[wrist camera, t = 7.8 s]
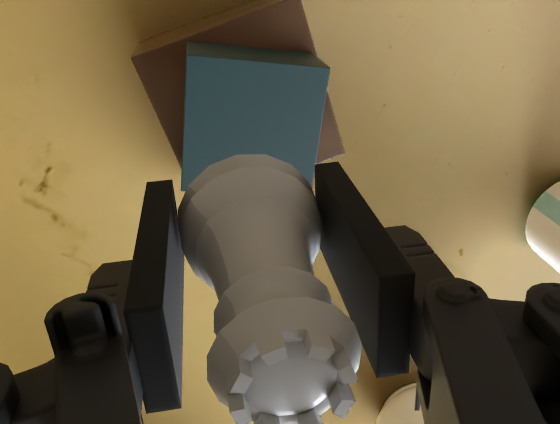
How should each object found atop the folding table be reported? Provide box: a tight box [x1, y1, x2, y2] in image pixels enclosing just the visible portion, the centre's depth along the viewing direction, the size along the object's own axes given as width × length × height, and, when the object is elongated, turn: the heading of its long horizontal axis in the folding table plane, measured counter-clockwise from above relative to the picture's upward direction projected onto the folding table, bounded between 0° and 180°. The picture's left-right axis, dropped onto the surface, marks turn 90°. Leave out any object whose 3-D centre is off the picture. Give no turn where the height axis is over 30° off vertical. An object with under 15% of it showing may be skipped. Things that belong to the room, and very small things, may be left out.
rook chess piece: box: [178, 154, 362, 424], centre depth 14 cm, size 4×4×8 cm
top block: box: [181, 41, 330, 191], centre depth 27 cm, size 6×6×4 cm
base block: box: [131, 0, 345, 169], centre depth 31 cm, size 9×9×5 cm
